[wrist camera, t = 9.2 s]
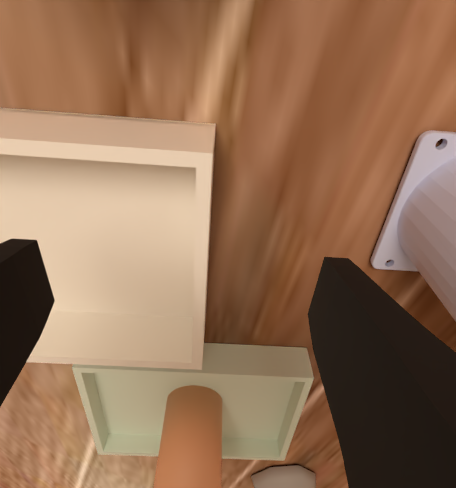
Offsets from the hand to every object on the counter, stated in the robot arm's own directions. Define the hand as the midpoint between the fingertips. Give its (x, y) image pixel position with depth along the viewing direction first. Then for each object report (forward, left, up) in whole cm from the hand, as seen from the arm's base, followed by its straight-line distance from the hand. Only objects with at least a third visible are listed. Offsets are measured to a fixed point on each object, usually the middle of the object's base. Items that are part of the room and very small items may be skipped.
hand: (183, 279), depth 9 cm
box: (+6, +5, -9) cm, 12 cm away
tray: (0, +20, -9) cm, 22 cm away
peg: (0, +20, -8) cm, 22 cm away
